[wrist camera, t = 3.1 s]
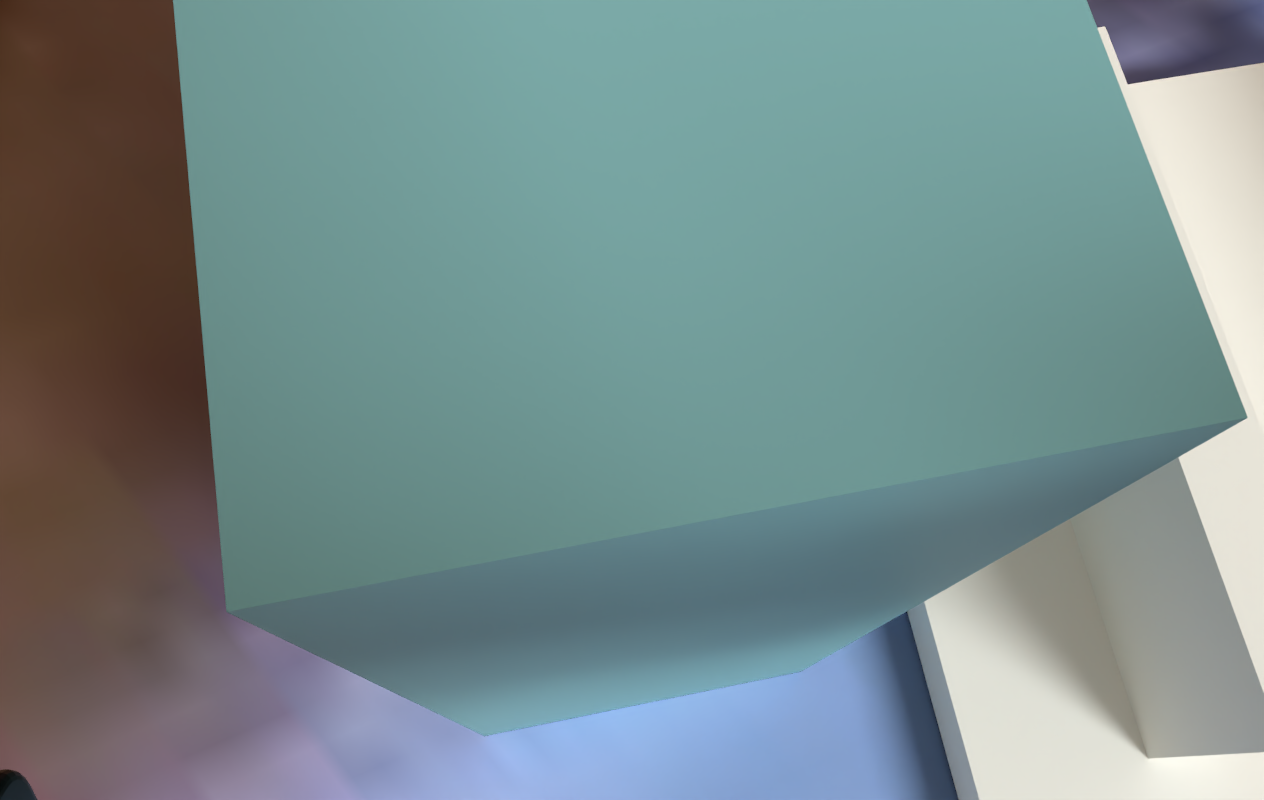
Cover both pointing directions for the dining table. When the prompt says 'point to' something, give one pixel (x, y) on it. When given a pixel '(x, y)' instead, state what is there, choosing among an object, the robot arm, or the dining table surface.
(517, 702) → the teal book
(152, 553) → the dining table surface
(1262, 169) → the book rack
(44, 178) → the dining table surface
